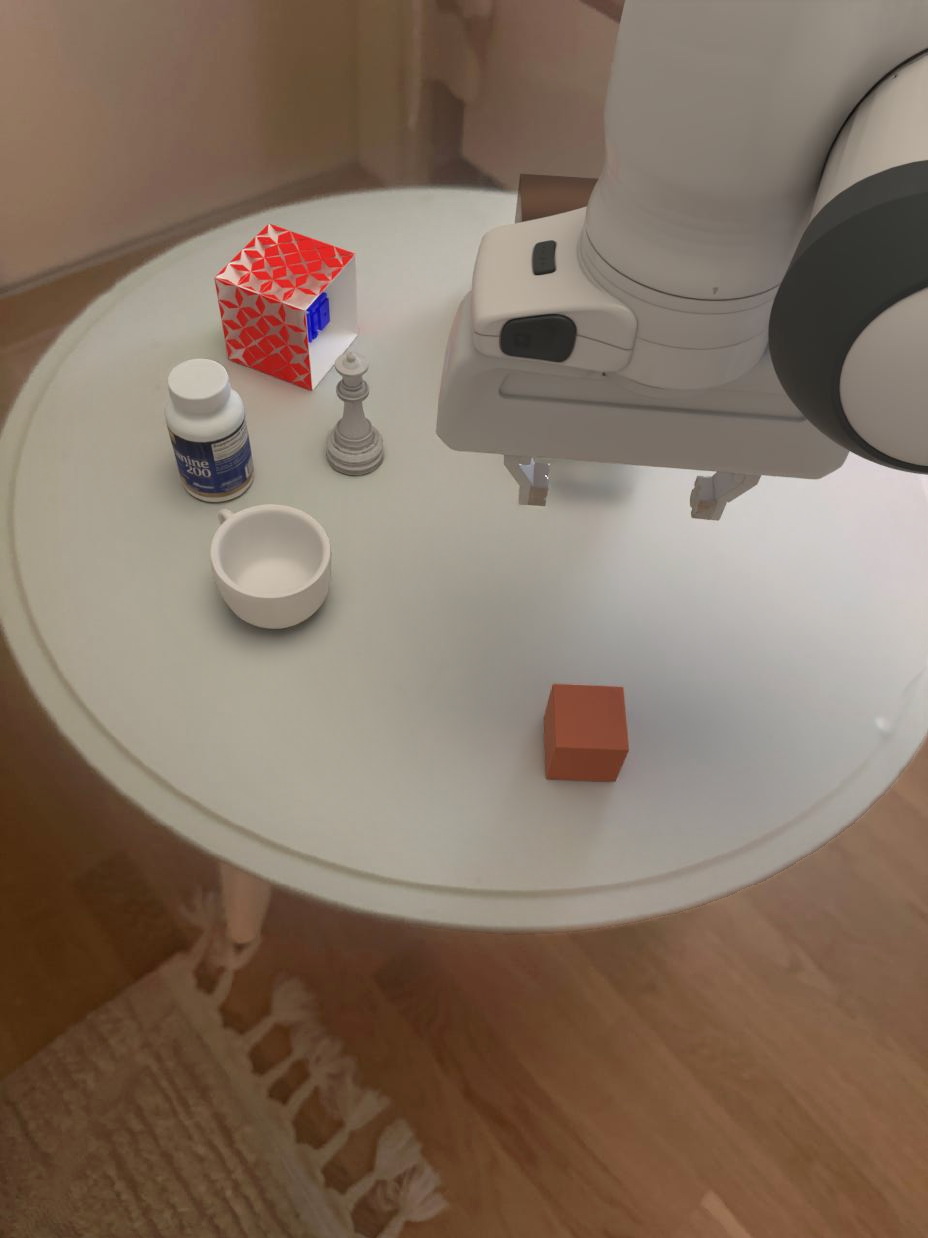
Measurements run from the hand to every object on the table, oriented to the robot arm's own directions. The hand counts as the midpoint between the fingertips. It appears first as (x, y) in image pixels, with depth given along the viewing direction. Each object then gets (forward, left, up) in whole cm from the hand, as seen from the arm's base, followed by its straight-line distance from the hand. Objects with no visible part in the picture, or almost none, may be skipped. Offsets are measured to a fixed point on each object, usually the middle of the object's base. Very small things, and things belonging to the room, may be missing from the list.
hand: (617, 503), depth 54 cm
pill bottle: (+26, -14, -16) cm, 34 cm away
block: (0, +7, -16) cm, 17 cm away
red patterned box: (+22, -29, -16) cm, 40 cm away
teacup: (+21, -4, -16) cm, 27 cm away
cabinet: (-2, -34, -16) cm, 38 cm away
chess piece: (+16, -17, -16) cm, 28 cm away
